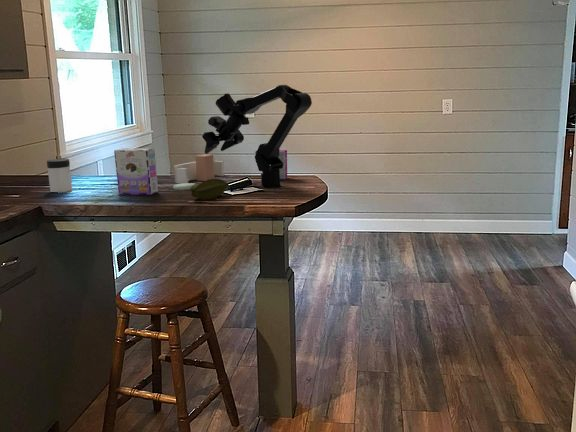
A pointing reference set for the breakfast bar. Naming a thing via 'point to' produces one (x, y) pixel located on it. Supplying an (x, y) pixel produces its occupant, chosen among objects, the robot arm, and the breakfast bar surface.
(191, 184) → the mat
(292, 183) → the breakfast bar surface
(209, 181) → the fruit
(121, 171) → the candy box
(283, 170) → the supplement box
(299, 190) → the breakfast bar surface
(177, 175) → the bay
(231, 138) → the robot arm
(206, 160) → the block
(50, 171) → the jar
